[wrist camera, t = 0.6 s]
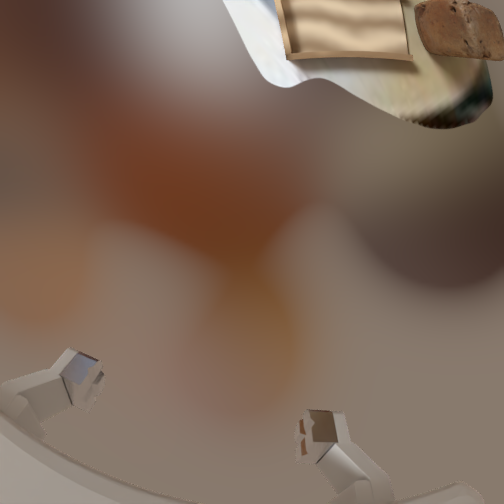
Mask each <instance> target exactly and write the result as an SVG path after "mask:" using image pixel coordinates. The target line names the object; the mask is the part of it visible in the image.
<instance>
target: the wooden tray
mask: <svg viewBox="0 0 504 504" xmlns="http://www.w3.org/2000/svg"><path fill="white" fill-rule="evenodd" d="M274 1H275V5H276V10H277V14H278V19H279V24H280V28H281V33H282V38H283V43H284V48H285V53H286V59H287V60H295V59H308V58H327V57H366V58H386V59H398V60H408V61H413V55H409V54H408V49H407V41H406V33H405V27H404V20H403V14H402V9H401V4H400V0H274Z"/></svg>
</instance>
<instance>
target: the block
mask: <svg viewBox="0 0 504 504" xmlns="http://www.w3.org/2000/svg"><path fill="white" fill-rule="evenodd" d="M414 10H415V20H416V25H417V29H418V33H419V35H420V38H421V41H422V42H423V45H424V47H425V48H426V49H427V51H429V52H431V53H434V54H437V55H444V56H454V57H465V58H475V59H483V60H493V61H502V60H504V37H503V33H502V29H501V26H500V23H499V21H498V19H497V17H496V15H495V14H494V12H493V11H491V10H490V9H487V8H485V7H483V6H481V5H478V4H475V3H470V2H469V1H467V0H429V1H425V2H422V3H419V4H417V5H416V6H415V8H414Z"/></svg>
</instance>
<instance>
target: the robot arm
mask: <svg viewBox="0 0 504 504" xmlns="http://www.w3.org/2000/svg"><path fill="white" fill-rule="evenodd" d="M102 368H103V365H102V361H100V360H98V359H96V358H93V357H91V356H89V355H87V354H85V353H82V352H80V351H78V350H76V349H74V348H71V347H70V348H68V349H67V350H66V351H65V352H64V353H63V354H62V355H61V357H60V358H59V359H58V360H57V361H56V362H55V364H54V365H53V366H52V367H51V368H50V370H48V369H44V370H41V371H38V372H35V373H32V374H29V375H26V376H23V377H19V378H16V379H13V380H10V381H7V382H4V383H3V384H2V385H1V387H0V504H203V503H199V502H194V501H189V500H185V499H181V498H176V497H173V496H169V495H165V494H162V493H158V492H155V491H152V490H149V489H146V488H142V487H140V486H137V485H134V484H131V483H128V482H126V481H123V480H120V479H118V478H115V477H113V476H110V475H108V474H106V473H103V472H101V471H99V470H97V469H95V468H92V467H90V466H88V465H86V464H84V463H82V462H80V461H78V460H76V459H74V458H72V457H70V456H68V455H67V454H65V453H63V452H61V451H59V450H58V449H56V448H54V447H53V446H51V445H49V444H48V443H46V442H45V441H43V440H44V438H45V437H46V435H47V434H46V431H45V430H44V428H43V426H42V425H41V423H42V422H44V421H45V420H47V419H49V418H51V417H53V416H55V415H57V414H59V413H61V412H62V411H64V410H66V409H68V408H70V407H71V406H72V405H73V406H75V407H77V408H79V409H82V410H84V411H86V412H88V413H89V412H90V411H91V409H92V407H93V406H94V404H95V402H96V401H95V396H98V395H100V394H101V392H102V390H103V388H104V384H105V375H104V373H103V372H102V371H101V369H102ZM295 442H296V443H297V444H298V447H297V448H296V450H295V454H296V463H303V464H316V466H317V467H318V469H319V470H320V472H321V473H322V474H323V476H324V477H325V478H326V480H327V481H328V482H329V484H330V485H331V486H332V488H333V489H334V491H335V492H336V493H337V494H338V495H337V496H336V497H334V498H333V499H332V500H330V501H329V502H328V503H327V504H485V502H484V500H483V497H482V496H481V494H480V493H478V492H477V491H476V490H475V489H473V488H472V487H470V486H469V485H467V484H466V483H464V482H462V481H458V482H454V483H451V484H449V485H446V486H443V487H440V488H437V489H434V490H431V491H428V492H425V493H422V494H418V495H415V496H411V497H407V498H403V499H399V500H395V498H394V494H393V490H392V486H391V482H390V478H389V475H388V474H386V473H385V472H384V471H383V470H382V469H381V468H380V467H379V466H378V465H377V464H376V463H375V462H373V460H372V459H371V458H369V457H368V456H367V455H366V454H365V453H364V452H363V451H362V450H361V449H360V448H359V447H358V446H357V445H356V444H355V443H351V440H350V436H349V431H348V427H347V423H346V418H345V415H344V413H343V412H342V411H327V410H310V409H307V410H306V411H305V412H304V413H303V419H302V420H300V421H299V422H298V424H297V425H296V429H295Z"/></svg>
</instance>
